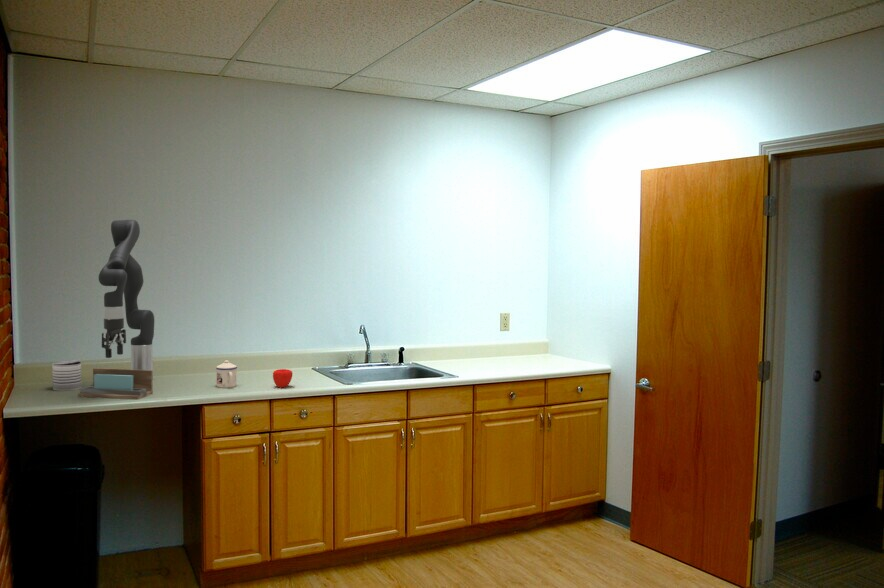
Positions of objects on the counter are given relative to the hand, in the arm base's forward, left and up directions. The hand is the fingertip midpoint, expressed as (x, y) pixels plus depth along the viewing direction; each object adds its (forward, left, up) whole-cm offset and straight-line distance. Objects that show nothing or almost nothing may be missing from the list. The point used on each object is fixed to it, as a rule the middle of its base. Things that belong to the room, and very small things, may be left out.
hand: (114, 356), depth 292 cm
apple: (-34, +61, -17) cm, 71 cm away
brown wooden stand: (-1, 0, -17) cm, 17 cm away
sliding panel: (0, 0, -16) cm, 16 cm away
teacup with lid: (-29, +37, -17) cm, 50 cm away
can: (-11, -28, -17) cm, 35 cm away
